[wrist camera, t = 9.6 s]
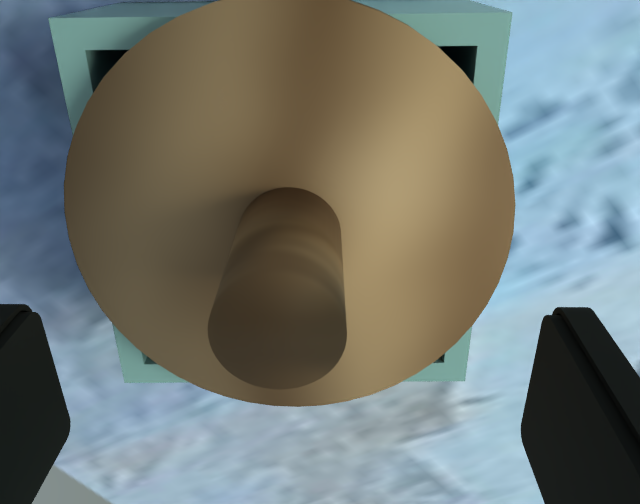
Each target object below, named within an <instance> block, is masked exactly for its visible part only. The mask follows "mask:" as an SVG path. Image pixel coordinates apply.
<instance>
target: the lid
mask: <svg viewBox="0 0 640 504" xmlns="http://www.w3.org/2000/svg"><path fill="white" fill-rule="evenodd" d="M64 207H65V217H66V223H67V229H68V235H69V240H70V243H71V246H72V250H73V253H74V256H75V259H76V262H77V265H78V267H79V269H80V272H81V274H82V276H83V278H84V280H85V282H86V285H87V287H88V289H89V290H90V292H91V293H92V295H93V297H94V298H95V300H96V301H97V303H98V305H99V306H100V308H101V309H102V311H103V312H104V313H105V314H106V316H107V317H108V318H109V319H110V321H111V322H112V323H113V324H114V325H115V327H116V328H117V329H118V330H119V331H120V332H121V333H122V334H123V335H124V336H125V337H126V338H127V339H128V340H129V341H130V342H131V343H132V344H133V345H134V346H135V347H136V348H137V349H139V350H140V351H141V352H142V353H144V354H145V355H146V356H148V357H149V358H150V359H151V360H153V361H154V362H155V363H157V364H158V365H160V366H161V367H163V368H165V369H166V370H168V371H169V372H171V373H173V374H174V375H176V376H178V377H180V378H182V379H184V380H186V381H188V382H190V383H192V384H194V385H196V386H198V387H200V388H203V389H206V390H209V391H211V392H214V393H217V394H220V395H223V396H226V397H230V398H234V399H238V400H242V401H246V402H251V403H258V404H265V405H272V406H295V407H300V406H316V405H327V404H333V403H339V402H345V401H349V400H353V399H357V398H360V397H364V396H368V395H371V394H374V393H376V392H379V391H381V390H384V389H387V388H389V387H392V386H394V385H396V384H398V383H400V382H402V381H404V380H406V379H408V378H410V377H411V376H413V375H415V374H417V373H418V372H420V371H421V370H423V369H424V368H426V367H427V366H429V365H430V364H432V363H433V362H435V361H436V360H437V359H439V358H440V357H441V356H442V355H443V354H444V353H446V352H447V351H448V350H449V349H450V348H451V347H452V346H454V345H455V344H456V343H457V342H458V341H459V339H460V338H461V337H462V336H463V335H464V334H465V333H466V332H467V331H468V330H469V329H470V327H471V326H472V325H473V324H474V322H475V321H476V319H477V318H478V317H479V315H480V314H481V312H482V311H483V310H484V308H485V307H486V305H487V304H488V302H489V300H490V298H491V296H492V294H493V292H494V290H495V288H496V287H497V285H498V283H499V280H500V278H501V275H502V272H503V269H504V267H505V264H506V261H507V258H508V254H509V250H510V245H511V240H512V236H513V229H514V216H515V194H514V181H513V174H512V169H511V165H510V160H509V156H508V151H507V148H506V145H505V143H504V140H503V137H502V135H501V132H500V130H499V127H498V124H497V122H496V120H495V118H494V116H493V115H492V113H491V111H490V109H489V107H488V106H487V104H486V102H485V100H484V99H483V97H482V95H481V94H480V92H479V91H478V90H477V89H476V87H475V86H474V85H473V83H472V82H471V81H470V80H469V78H468V77H467V76H466V74H465V73H464V72H463V70H462V69H461V68H460V67H459V66H457V65H456V64H455V63H454V62H453V61H452V60H451V59H450V58H449V57H448V56H447V55H446V54H445V53H444V52H443V51H442V50H441V49H440V48H439V47H438V46H436V45H435V44H434V43H432V42H431V41H430V40H428V39H427V38H425V37H424V36H423V35H421V34H420V33H418V32H417V31H416V30H414V29H413V28H411V27H410V26H409V25H407V24H405V23H403V22H401V21H399V20H398V19H396V18H394V17H392V16H390V15H388V14H386V13H384V12H382V11H380V10H378V9H375V8H373V7H370V6H367V5H364V4H361V3H358V2H355V1H353V0H218V1H215V2H212V3H210V4H207V5H205V6H202V7H200V8H197V9H195V10H192V11H190V12H187V13H185V14H182V15H180V16H178V17H176V18H174V19H173V20H171V21H169V22H168V23H166V24H164V25H163V26H161V27H159V28H157V29H156V30H154V31H152V32H151V33H149V34H148V35H147V36H146V37H144V38H143V39H142V40H141V41H139V42H138V43H137V44H136V45H135V46H133V47H132V48H131V49H130V50H128V51H127V52H126V53H125V54H124V55H123V56H122V57H121V58H120V59H119V60H118V62H117V63H116V64H115V65H114V66H113V67H112V68H111V69H110V70H109V72H108V73H107V74H106V75H105V76H104V77H103V79H102V80H101V82H100V83H99V85H98V86H97V88H96V90H95V91H94V93H93V94H92V96H91V97H90V99H89V100H88V102H87V104H86V106H85V108H84V110H83V113H82V115H81V117H80V119H79V122H78V124H77V126H76V128H75V131H74V135H73V138H72V142H71V146H70V149H69V153H68V156H67V164H66V172H65V180H64Z"/></svg>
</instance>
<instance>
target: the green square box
mask: <svg viewBox="0 0 640 504" xmlns="http://www.w3.org/2000/svg"><path fill="white" fill-rule="evenodd" d="M353 1H355V2H358V3H361V4H364V5H367V6H370V7H373V8H375V9H378V10H380V11H382V12H384V13H386V14H388V15H390V16H392V17H394V18H396V19H398V20H399V21H401V22H403V23H405V24H407V25H409V26H410V27H411V28H413V29H414V30H416V31H417V32H418V33H420V34H421V35H423V36H424V37H425V38H427V39H428V40H430V41H431V42H432V43H434V44H435V45H436V46H438V47H439V48H440V49H441V50H442V51H443V52H444V53H445V54H446V55H447V56H448V57H449V58H450V59H451V60H452V61H453V62H454V63H455V64H456V65H457V66H459V67H460V68H461V69H462V70H463V72H464V73H465V74H466V76H467V77H468V78H469V80H470V81H471V82H472V83H473V85H474V86H475V87H476V89H477V90H478V91H479V92H480V94H481V95H482V97H483V99H484V100H485V102H486V104H487V106H488V107H489V109H490V111H491V113H492V115H493V116H494V118H495V120H496V122H497V124H498V120H499V112H500V105H501V97H502V89H503V81H504V74H505V66H506V58H507V50H508V43H509V35H510V27H511V19H512V12H509V11H506V10H502V9H499V8H495V7H492V6H488V5H485V4H481V3H478V2H474V1H471V0H353ZM212 2H215V1H194V2H121V3H116V4H111V5H107V6H102V7H98V8H93V9H88V10H84V11H79V12H74V13H70V14H65V15H61V16H56V17H51V18H48V20H49V24H50V29H51V34H52V39H53V43H54V48H55V53H56V58H57V62H58V67H59V72H60V77H61V81H62V86H63V91H64V96H65V101H66V105H67V110H68V115H69V120H70V124H71V129H72V134H73V135H74V131H75V128H76V126H77V124H78V122H79V119H80V117H81V115H82V113H83V110H84V108H85V106H86V104H87V102H88V100H89V99H90V97H91V96H92V94H93V93H94V91H95V90H96V88H97V86H98V85H99V83H100V82H101V80H102V79H103V77H104V76H105V75H106V74H107V73H108V72H109V70H110V69H111V68H112V67H113V66H114V65H115V64H116V63H117V62H118V60H119V59H120V58H121V57H122V56H123V55H124V54H125V53H126V52H127V51H128V50H130V49H131V48H132V47H133V46H135V45H136V44H137V43H138V42H139V41H141V40H142V39H143V38H144V37H146V36H147V35H148V34H149V33H151V32H152V31H154V30H156V29H157V28H159V27H161V26H163V25H164V24H166V23H168V22H169V21H171V20H173V19H174V18H176V17H178V16H180V15H182V14H185V13H187V12H190V11H192V10H195V9H197V8H200V7H202V6H205V5H207V4H210V3H212ZM112 324H113V323H112ZM113 329H114V334H115V339H116V344H117V348H118V353H119V358H120V363H121V367H122V372H123V377H124V382H125V383H174V382H188V381H186V380H184V379H182V378H180V377H178V376H176V375H174V374H173V373H171V372H169V371H168V370H166V369H165V368H163V367H161V366H160V365H158V364H157V363H155V362H154V361H153V360H151V359H150V358H149V357H148V356H146V355H145V354H144V353H142V352H141V351H140V350H139V349H137V348H136V347H135V346H134V345H133V344H132V343H131V342H130V341H129V340H128V339H127V338H126V337H125V336H124V335H123V334H122V333H121V332H120V331H119V330H118V329H117V328H116V327H115V325H114V324H113ZM471 330H472V326H471V327H470V329H469V330H468V331H467V332H466V333H465V334H464V335H463V336H462V337H461V338H460V339H459V341H458V342H457V343H456V344H455V345H454V346H452V347H451V348H450V349H449V350H448V351H447V352H446V353H444V354H443V355H442V356H441V357H440V358H439V359H437V360H436V361H435V362H433V363H432V364H430V365H429V366H427V367H426V368H424V369H423V370H421V371H420V372H418V373H417V374H415V375H413V376H411V377H410V378H408V379H406V380H404V381H465V376H466V368H467V361H468V353H469V345H470V337H471Z"/></svg>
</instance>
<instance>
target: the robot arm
mask: <svg viewBox="0 0 640 504" xmlns="http://www.w3.org/2000/svg"><path fill="white" fill-rule="evenodd" d="M69 432H70V417H69V413H68V410H67V406H66V403H65V400H64V396H63V393H62V389H61V386H60V382H59V379H58V375H57V372H56V368H55V365H54V361H53V358H52V354H51V351H50V348H49V344H48V341H47V337H46V334H45V330H44V327H43V323H42V320H41V317H40V315H39V314H38V313H36V312H32V310H31V308H30V307H29V306H27V305H25V304H0V504H32V502H33V500H34V498H35V496H36V495H37V493H38V491H39V489H40V487H41V485H42V484H43V482H44V480H45V478H46V476H47V474H48V473H49V471H50V469H51V467H52V465H53V464H54V462H55V460H56V458H57V456H58V455H59V453H60V451H61V449H62V447H63V445H64V444H65V442H66V440H67V438H68V435H69ZM521 437H522V442H523V446H524V448H525V451H526V454H527V457H528V459H529V462H530V465H531V467H532V470H533V473H534V476H535V478H536V481H537V484H538V486H539V489H540V492H541V495H542V497H543V500H544V503H545V504H640V377H639V376H638V374H637V373H636V372H635V370H634V369H633V367H632V366H631V364H630V363H629V361H628V360H627V359H626V357H625V356H624V354H623V353H622V351H621V350H620V349H619V347H618V346H617V344H616V343H615V341H614V340H613V338H612V337H611V336H610V334H609V333H608V331H607V330H606V328H605V327H604V326H603V324H602V323H601V321H600V320H599V318H598V317H597V315H596V314H595V313H594V311H593V310H592V309H591V308H588V307H557V308H556V309H555V310H554V311H553V314H552V315H546V316H544V318H543V320H542V324H541V329H540V334H539V339H538V344H537V349H536V354H535V359H534V364H533V369H532V374H531V378H530V383H529V388H528V393H527V398H526V403H525V408H524V413H523V418H522V423H521Z"/></svg>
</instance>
